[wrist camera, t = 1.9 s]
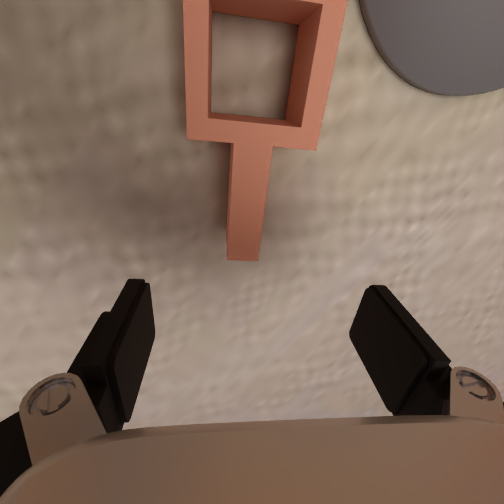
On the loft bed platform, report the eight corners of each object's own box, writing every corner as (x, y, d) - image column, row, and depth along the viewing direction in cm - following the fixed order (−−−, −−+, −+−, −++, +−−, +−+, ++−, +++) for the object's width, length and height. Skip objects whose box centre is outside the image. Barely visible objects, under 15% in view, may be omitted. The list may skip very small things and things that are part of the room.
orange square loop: (192, -19, 13) (181, -58, 9) (320, 2, 14) (353, -26, 10) (195, 230, 20) (190, 259, 16) (281, 233, 21) (292, 262, 17)
